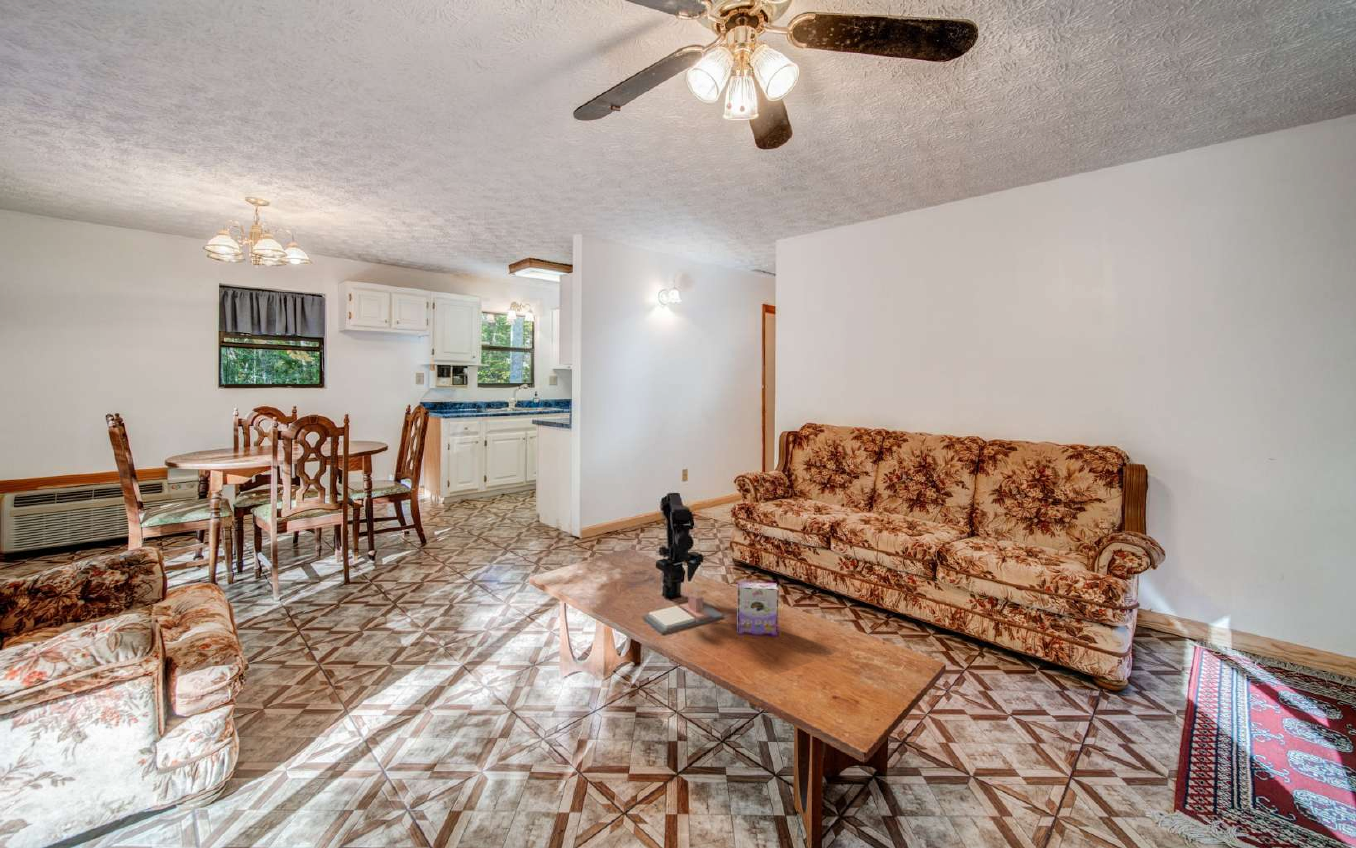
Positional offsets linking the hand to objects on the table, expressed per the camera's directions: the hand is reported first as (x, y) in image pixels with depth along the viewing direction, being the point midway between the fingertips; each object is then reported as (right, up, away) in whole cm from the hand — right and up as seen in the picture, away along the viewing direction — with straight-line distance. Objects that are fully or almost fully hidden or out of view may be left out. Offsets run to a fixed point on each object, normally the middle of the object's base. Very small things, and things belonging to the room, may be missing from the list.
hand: (679, 584), depth 193 cm
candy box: (+27, -13, -11) cm, 32 cm away
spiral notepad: (-3, -11, -5) cm, 12 cm away
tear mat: (+1, -12, -2) cm, 12 cm away
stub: (+6, -11, +1) cm, 12 cm away
